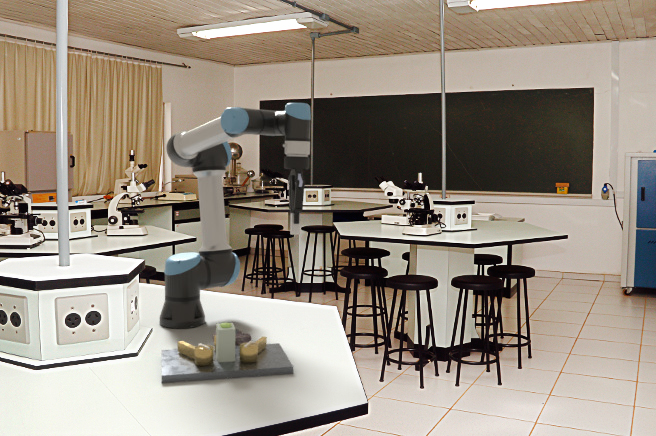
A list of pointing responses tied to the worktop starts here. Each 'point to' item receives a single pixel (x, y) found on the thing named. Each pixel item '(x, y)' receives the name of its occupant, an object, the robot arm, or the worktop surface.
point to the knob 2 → (251, 350)
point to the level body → (225, 342)
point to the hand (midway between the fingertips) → (295, 234)
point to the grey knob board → (224, 365)
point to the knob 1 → (197, 352)
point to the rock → (239, 337)
